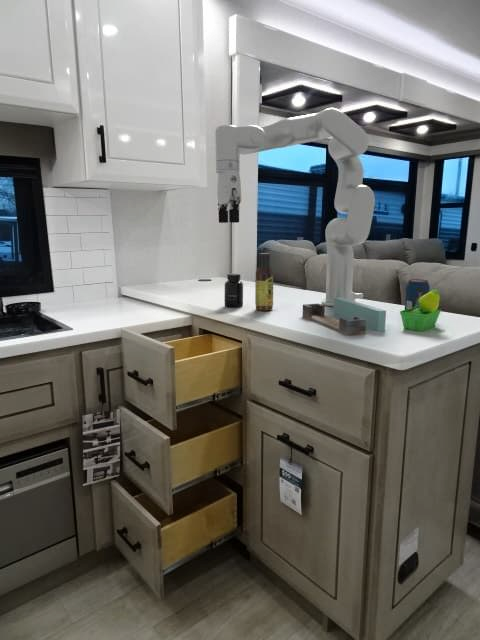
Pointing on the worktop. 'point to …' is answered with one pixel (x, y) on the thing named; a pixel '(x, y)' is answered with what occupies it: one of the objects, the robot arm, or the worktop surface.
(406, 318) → the fruit basket
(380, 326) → the slat
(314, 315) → the endcap rail
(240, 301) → the supplement bottle
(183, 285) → the worktop surface
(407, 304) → the soda can
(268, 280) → the sauce bottle
